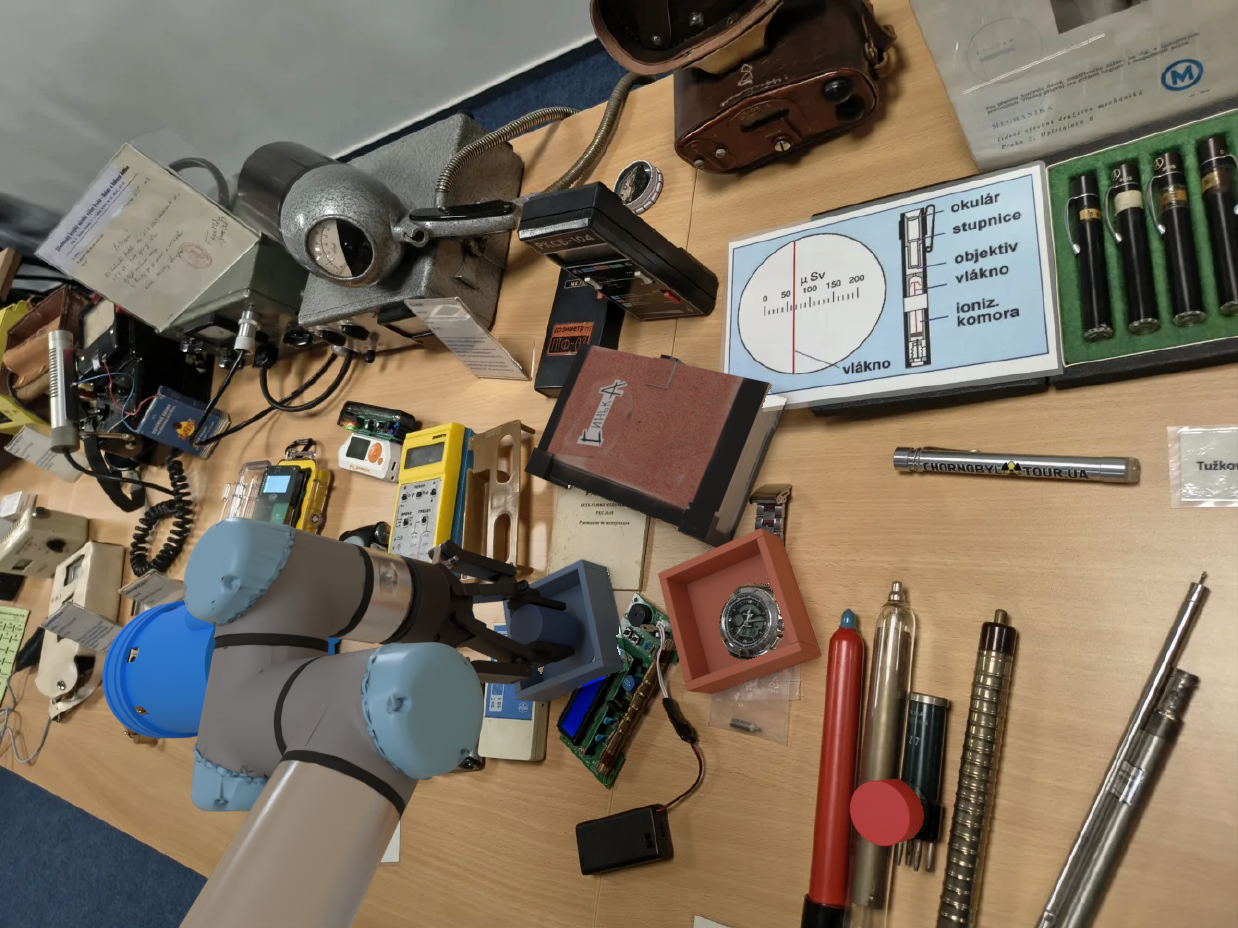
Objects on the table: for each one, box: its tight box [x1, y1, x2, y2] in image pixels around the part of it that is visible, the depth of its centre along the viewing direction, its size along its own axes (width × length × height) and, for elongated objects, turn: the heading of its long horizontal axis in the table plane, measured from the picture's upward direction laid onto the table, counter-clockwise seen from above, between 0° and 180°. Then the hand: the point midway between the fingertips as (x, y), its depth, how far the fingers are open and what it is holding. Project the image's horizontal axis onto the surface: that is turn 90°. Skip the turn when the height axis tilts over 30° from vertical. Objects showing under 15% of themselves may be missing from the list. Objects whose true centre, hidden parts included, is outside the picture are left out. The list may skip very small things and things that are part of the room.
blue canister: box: [510, 604, 578, 647], centre depth 79 cm, size 4×4×6 cm
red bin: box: [657, 527, 822, 695], centre depth 71 cm, size 12×12×5 cm
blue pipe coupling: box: [101, 599, 341, 739], centre depth 105 cm, size 25×22×19 cm
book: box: [523, 342, 784, 548], centre depth 83 cm, size 26×18×5 cm
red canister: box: [849, 778, 924, 847], centre depth 58 cm, size 4×4×6 cm
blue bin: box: [502, 558, 624, 703], centre depth 82 cm, size 12×12×5 cm
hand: (560, 632), depth 82 cm, fingers closed on blue canister, 4 cm apart
